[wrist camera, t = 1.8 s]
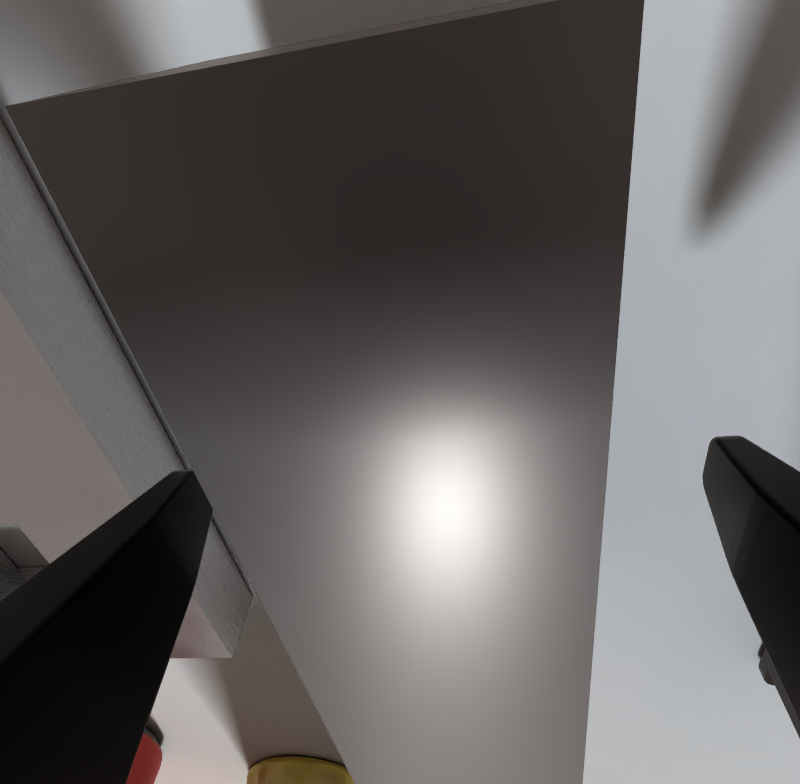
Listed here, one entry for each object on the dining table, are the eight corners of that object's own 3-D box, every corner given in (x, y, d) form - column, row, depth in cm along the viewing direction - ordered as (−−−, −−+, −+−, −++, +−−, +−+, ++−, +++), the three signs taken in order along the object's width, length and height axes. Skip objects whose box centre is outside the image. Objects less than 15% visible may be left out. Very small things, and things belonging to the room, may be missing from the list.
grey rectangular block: (250, 50, 9) (4, 106, 4) (533, -4, 8) (645, -17, 3) (389, 563, 16) (361, 797, 11) (542, 559, 15) (580, 806, 11)
